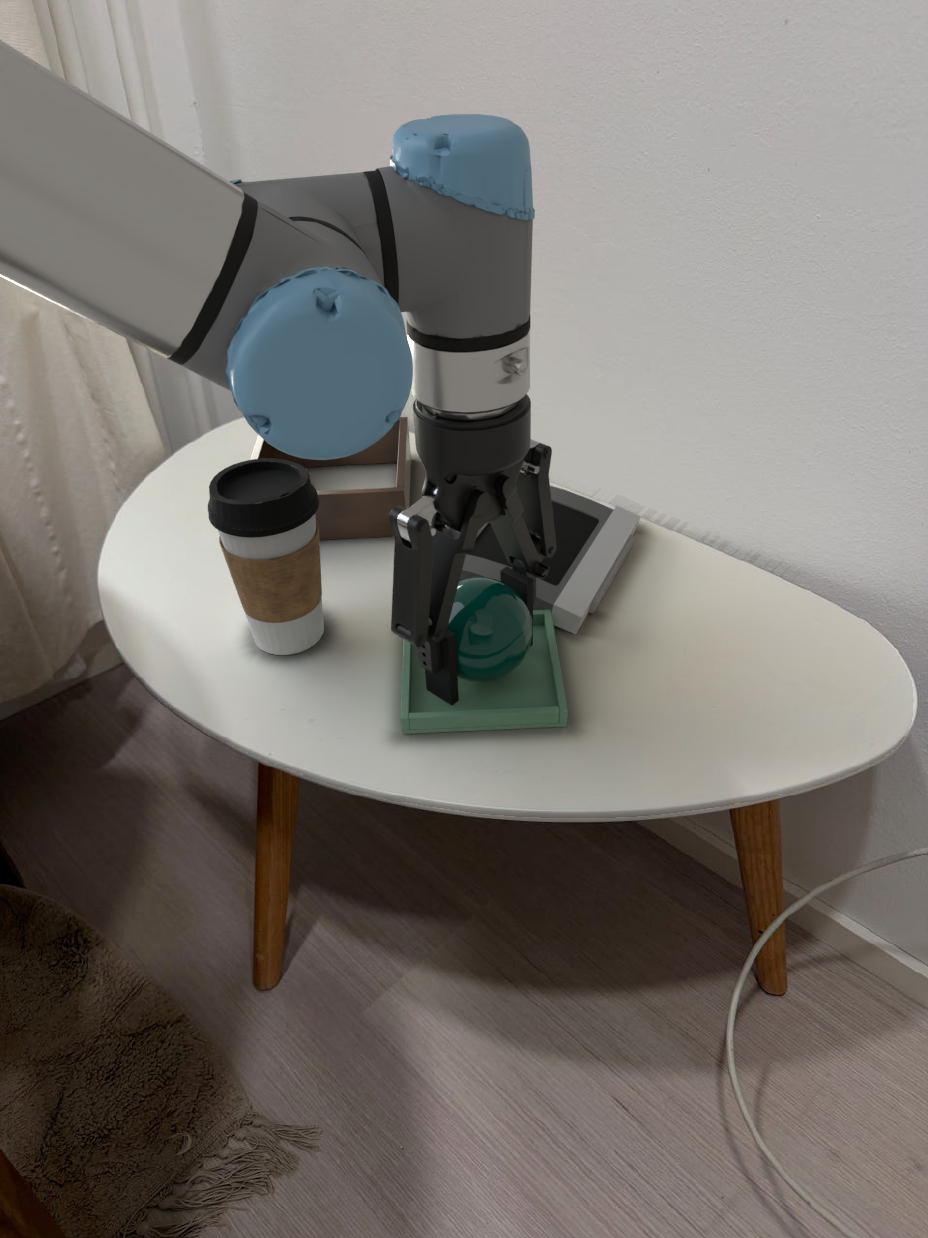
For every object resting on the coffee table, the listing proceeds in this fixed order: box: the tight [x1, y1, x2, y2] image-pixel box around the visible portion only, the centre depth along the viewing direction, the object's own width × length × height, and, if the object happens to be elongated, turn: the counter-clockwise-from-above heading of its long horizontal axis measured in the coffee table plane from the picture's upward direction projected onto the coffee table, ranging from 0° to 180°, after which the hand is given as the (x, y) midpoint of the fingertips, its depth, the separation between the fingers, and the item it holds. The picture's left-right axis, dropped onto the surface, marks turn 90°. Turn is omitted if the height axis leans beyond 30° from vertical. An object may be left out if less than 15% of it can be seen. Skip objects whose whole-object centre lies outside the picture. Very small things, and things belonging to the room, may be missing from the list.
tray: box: [400, 609, 569, 735], centre depth 72 cm, size 12×12×2 cm
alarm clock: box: [445, 485, 641, 635], centre depth 84 cm, size 17×5×16 cm
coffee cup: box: [207, 458, 325, 656], centre depth 73 cm, size 8×8×15 cm
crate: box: [249, 416, 412, 541], centre depth 94 cm, size 16×16×5 cm
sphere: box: [447, 577, 533, 682], centre depth 70 cm, size 8×8×8 cm
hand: (480, 666), depth 72 cm, fingers closed on sphere, 8 cm apart
